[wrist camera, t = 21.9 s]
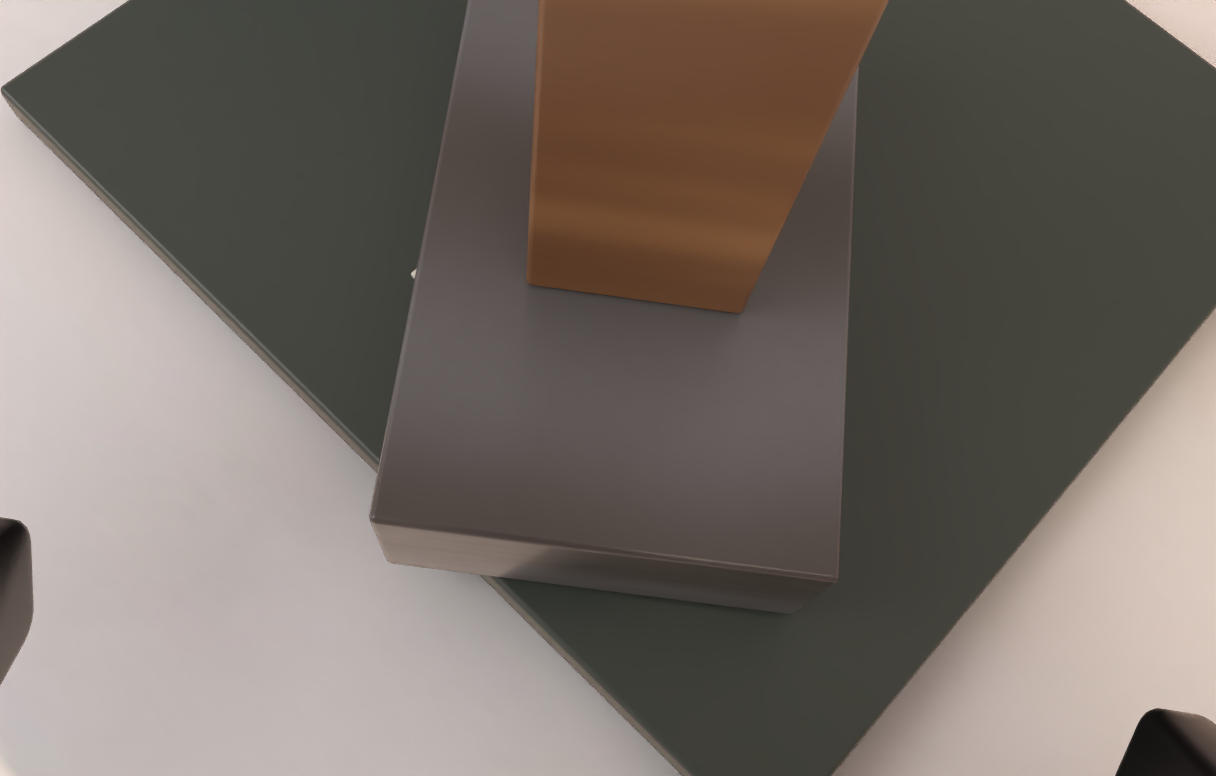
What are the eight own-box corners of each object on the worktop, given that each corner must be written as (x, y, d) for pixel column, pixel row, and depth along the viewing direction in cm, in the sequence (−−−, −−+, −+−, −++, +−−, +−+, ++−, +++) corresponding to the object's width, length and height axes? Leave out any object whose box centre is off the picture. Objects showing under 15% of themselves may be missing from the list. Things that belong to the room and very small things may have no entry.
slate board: (758, 851, 17) (772, 852, 16) (14, 115, 20) (-7, 84, 19) (1311, 180, 22) (1342, 155, 21) (647, -323, 25) (652, -362, 24)
